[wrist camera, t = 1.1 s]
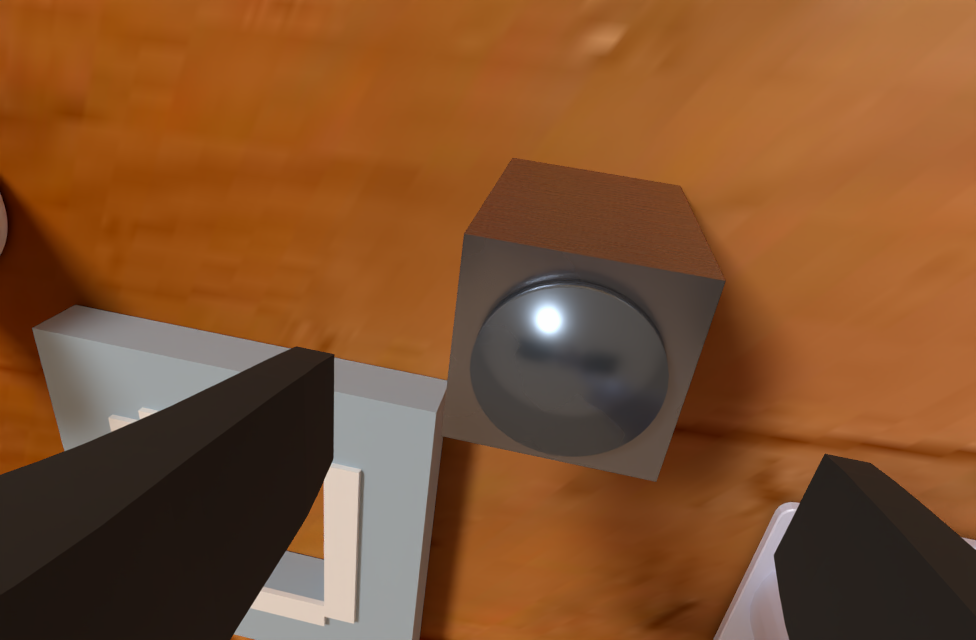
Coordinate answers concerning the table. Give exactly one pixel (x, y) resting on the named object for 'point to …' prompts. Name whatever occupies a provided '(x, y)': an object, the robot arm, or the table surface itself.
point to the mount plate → (347, 486)
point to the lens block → (579, 318)
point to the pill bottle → (3, 225)
